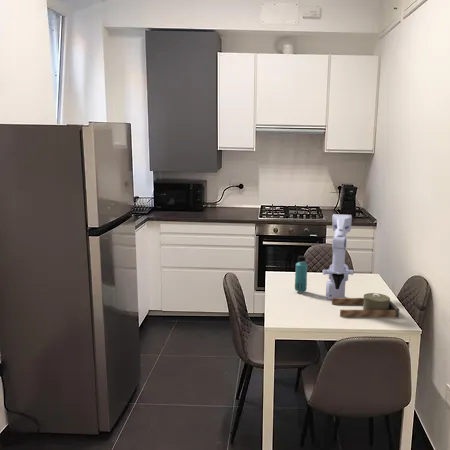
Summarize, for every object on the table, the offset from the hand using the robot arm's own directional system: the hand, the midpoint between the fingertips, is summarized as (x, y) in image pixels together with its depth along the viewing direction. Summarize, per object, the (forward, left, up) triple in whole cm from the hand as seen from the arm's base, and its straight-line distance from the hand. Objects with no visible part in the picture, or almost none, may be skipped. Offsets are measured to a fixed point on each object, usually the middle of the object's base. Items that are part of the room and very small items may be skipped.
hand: (337, 288), depth 221 cm
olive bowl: (+18, -4, -10) cm, 21 cm away
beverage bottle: (-14, +22, -10) cm, 28 cm away
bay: (+12, -4, -9) cm, 16 cm away
